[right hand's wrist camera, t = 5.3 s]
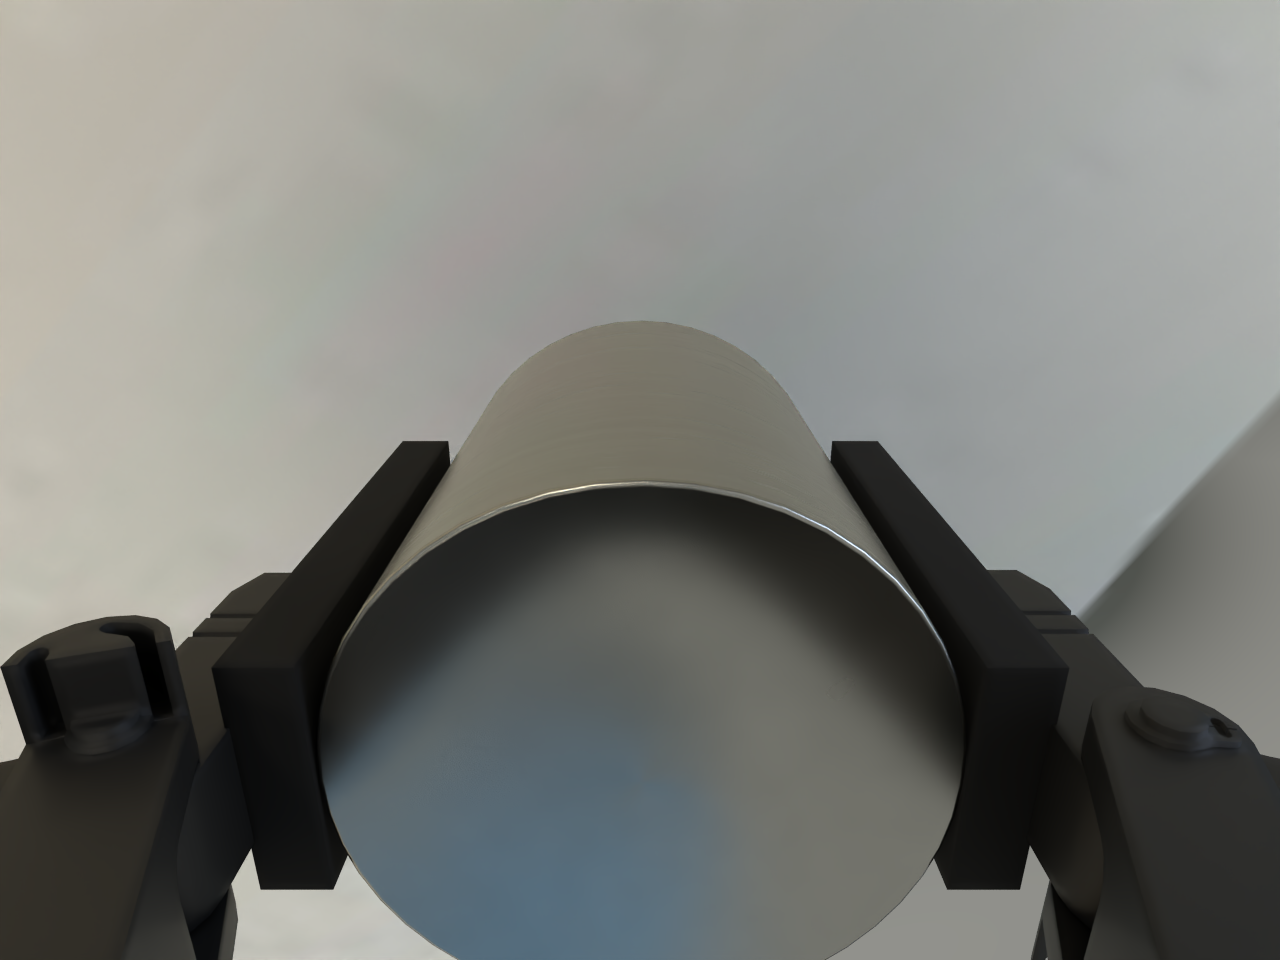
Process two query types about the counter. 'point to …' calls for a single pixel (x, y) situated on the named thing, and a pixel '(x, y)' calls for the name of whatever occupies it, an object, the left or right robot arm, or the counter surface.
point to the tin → (641, 679)
